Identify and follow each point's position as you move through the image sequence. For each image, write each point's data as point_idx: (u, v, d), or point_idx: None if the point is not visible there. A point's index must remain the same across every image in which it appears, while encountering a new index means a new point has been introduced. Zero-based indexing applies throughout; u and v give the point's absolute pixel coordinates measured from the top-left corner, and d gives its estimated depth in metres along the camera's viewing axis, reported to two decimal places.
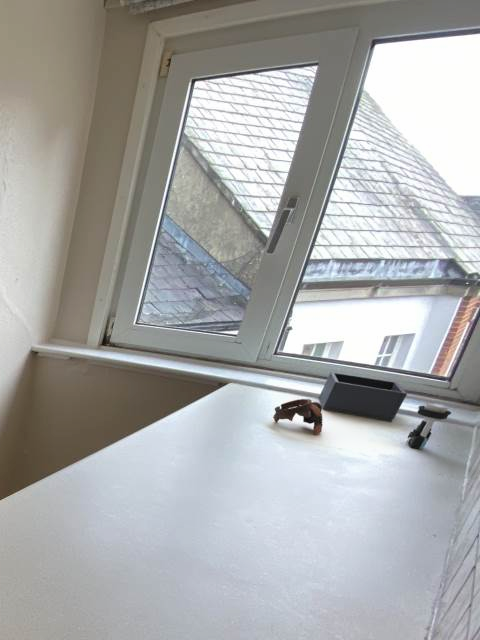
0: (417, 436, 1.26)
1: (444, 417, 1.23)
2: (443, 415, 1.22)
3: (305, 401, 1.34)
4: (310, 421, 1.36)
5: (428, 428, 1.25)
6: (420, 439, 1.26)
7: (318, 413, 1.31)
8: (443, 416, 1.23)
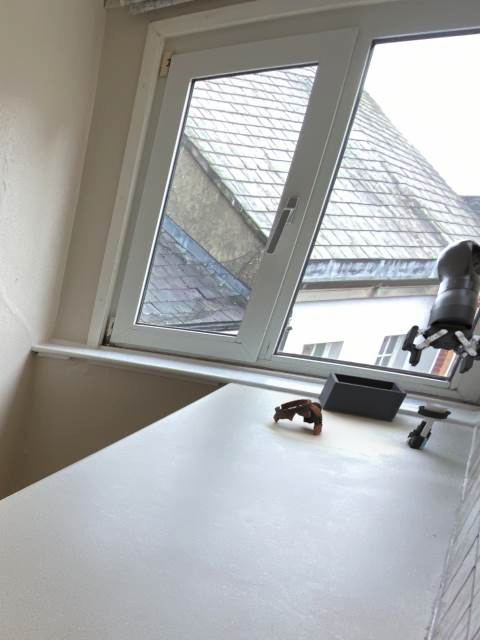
0: (417, 436, 1.26)
1: (444, 417, 1.23)
2: (443, 415, 1.22)
3: (305, 401, 1.34)
4: (310, 421, 1.36)
5: (428, 428, 1.25)
6: (420, 439, 1.26)
7: (318, 413, 1.31)
8: (443, 416, 1.23)
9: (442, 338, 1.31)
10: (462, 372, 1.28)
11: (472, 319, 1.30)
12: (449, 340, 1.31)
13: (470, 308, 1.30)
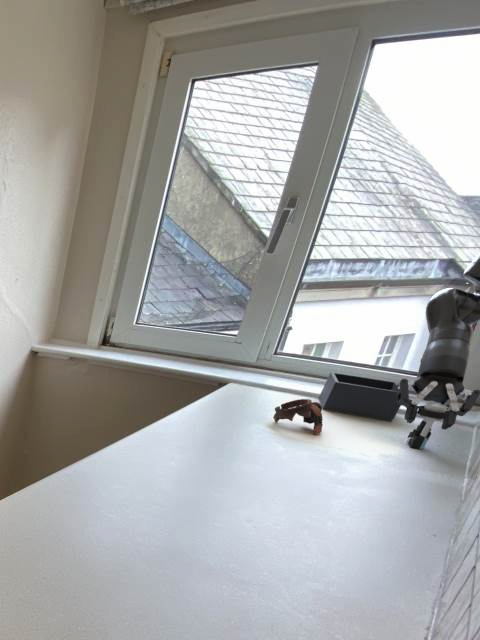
0: (417, 436, 1.26)
1: (444, 417, 1.23)
2: (443, 415, 1.22)
3: (305, 401, 1.34)
4: (310, 421, 1.36)
5: (428, 428, 1.25)
6: (420, 439, 1.26)
7: (318, 413, 1.31)
8: (443, 416, 1.23)
9: (432, 390, 1.26)
10: (444, 428, 1.24)
11: (463, 371, 1.24)
12: (439, 392, 1.26)
13: (461, 359, 1.25)
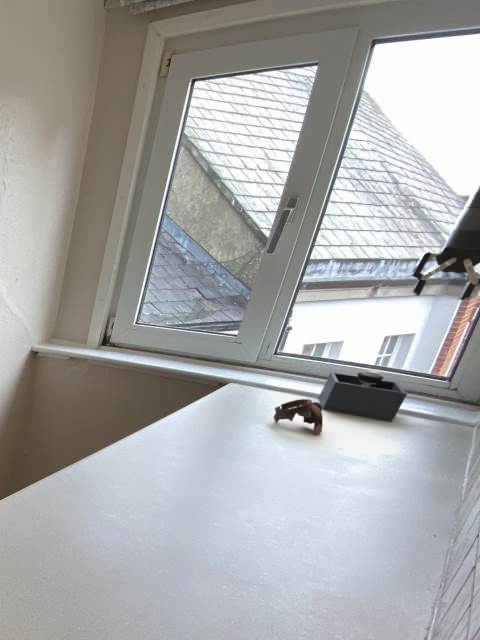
0: None
1: (378, 381, 1.46)
2: (377, 379, 1.46)
3: (305, 401, 1.34)
4: (310, 421, 1.36)
5: None
6: None
7: (318, 413, 1.31)
8: (377, 380, 1.46)
9: (450, 266, 1.38)
10: None
11: None
12: (456, 267, 1.37)
13: None
